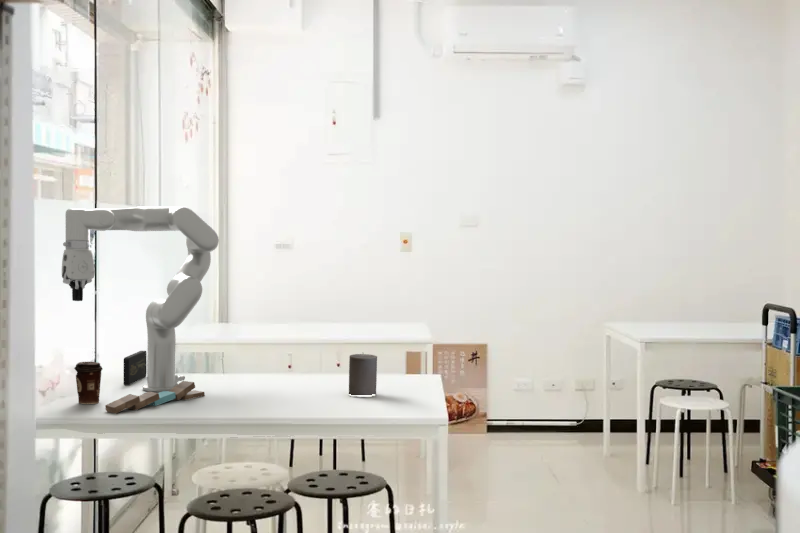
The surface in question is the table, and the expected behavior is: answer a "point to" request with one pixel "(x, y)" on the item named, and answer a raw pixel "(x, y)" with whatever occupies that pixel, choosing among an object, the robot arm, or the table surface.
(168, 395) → the domino
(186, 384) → the domino
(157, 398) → the domino
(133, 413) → the table surface
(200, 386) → the table surface
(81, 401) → the coffee cup
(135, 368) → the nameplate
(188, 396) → the domino end
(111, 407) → the domino far
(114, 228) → the robot arm
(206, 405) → the table surface
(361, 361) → the pillar candle
